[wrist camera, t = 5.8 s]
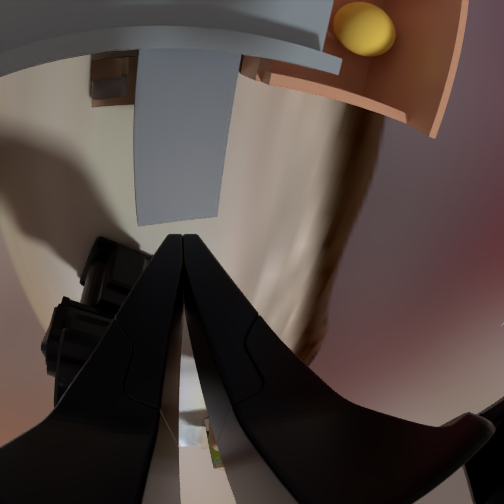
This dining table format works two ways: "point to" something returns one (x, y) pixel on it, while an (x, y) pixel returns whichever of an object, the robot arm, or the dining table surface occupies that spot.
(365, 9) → the ball
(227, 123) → the grey flat piece
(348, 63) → the brown boxy piece
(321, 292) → the dining table surface
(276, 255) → the dining table surface
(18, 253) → the dining table surface
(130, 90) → the lever stand
